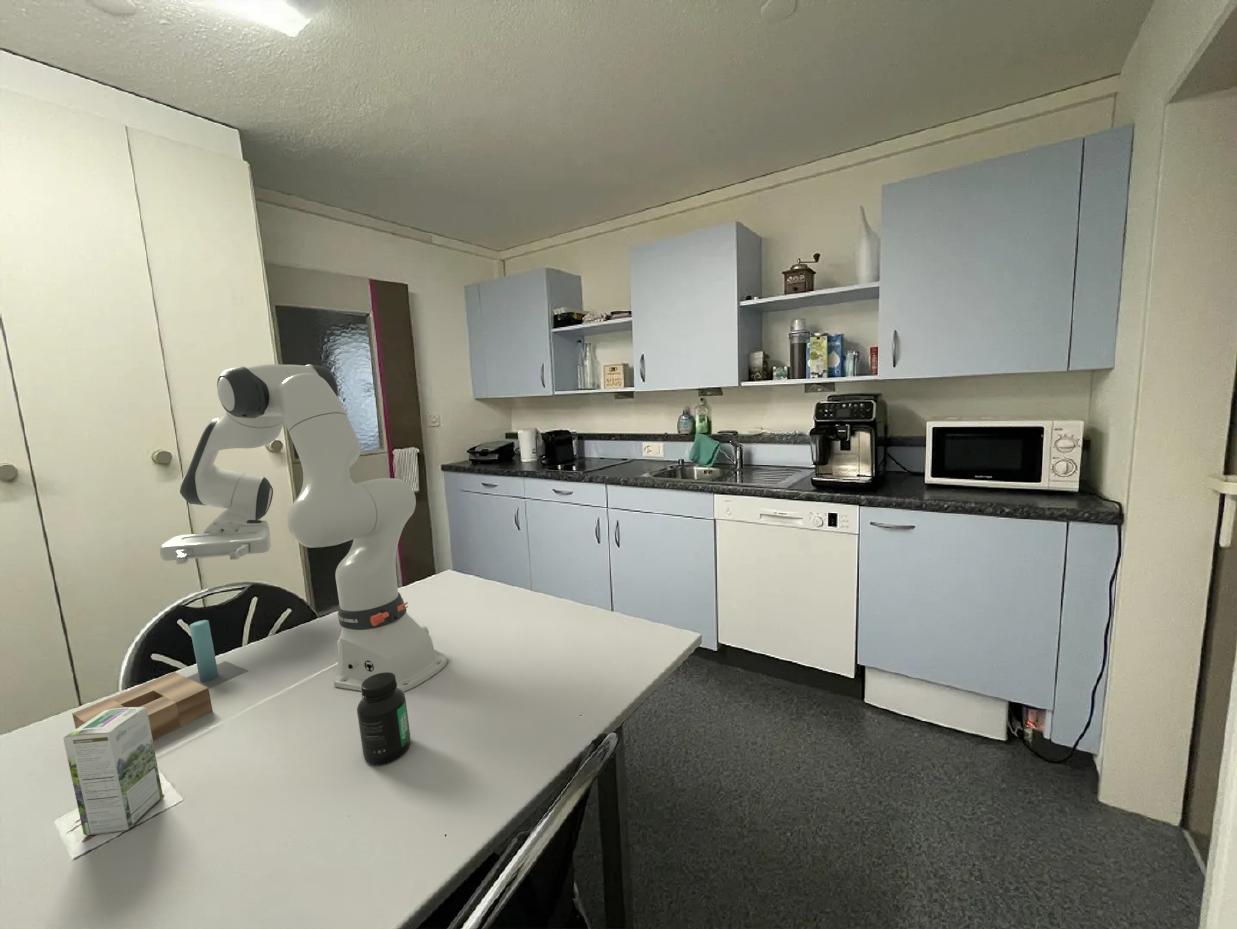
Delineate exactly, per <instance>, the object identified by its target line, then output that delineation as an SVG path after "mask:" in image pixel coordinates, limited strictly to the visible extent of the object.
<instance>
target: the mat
mask: <svg viewBox="0 0 1237 929" xmlns="http://www.w3.org/2000/svg"><path fill="white" fill-rule="evenodd" d="M216 664H217V670H218V676H217V677H216V678H214V679H212V680H210V681H206V682H201V681H200V678H199V673H198V672H196V673H193V674H192V675H189V676H186V677H187V678H189V679H191V680H193V681H195V682H197V683H199V684H201V685H203V686H205V687H208V689H212V688H215V687H216V686H218V685H221V684H222V683H225V682H227V681H229V680H231V679H234V678H236V677H238V676H240V675H243V674H244V673H247V672H248V671H250V670H248V669H246V668H244V667H241V666H238V665H236V664H233V663H231V662H229V661H226V660H224V661H222V662H220V663H216Z"/></svg>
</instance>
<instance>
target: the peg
mask: <svg viewBox="0 0 1237 929" xmlns="http://www.w3.org/2000/svg"><path fill="white" fill-rule="evenodd" d="M189 630H190V635H191V636H190V637H191V640H192V645H193V646H192V647H193V652H194V656H195V662H196V669H197V673H199V678H200V681H201V682H206V681H210V680H212V679H214V678H216V677H217V676H218V670H217V664H218V663H217V660H216V654H215V649H214V642H213V638H212V633H211V627H210V621H209V619H208V620H207V619H203V620H198V621H195V622H193V623H191V624H189Z"/></svg>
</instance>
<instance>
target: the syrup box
mask: <svg viewBox="0 0 1237 929" xmlns="http://www.w3.org/2000/svg"><path fill="white" fill-rule="evenodd" d="M63 742H64V743H63V744H64V747H65V752H66V758H67V763H68V767H69V771H70V777H71V782H72V786H73V790H74V795H75V800H76V804H77V808H78V814H79V818H80V824H81V829H82V834H83V835H85V836H91V835H98V834H101V835H102V834H108V833H113V832H114V833H115V832H122V831H129V830H130V829H131V828H132V827H133V826H134V825H136V824H137V823H138V822H139V820H141V819H142V818H143V817H144V816H145V815H146V814H147V813H148V812H149V811H150V810H151V809H152V808H153V807H154V806H156V804H157V803H158V802H160V801H161V800H162V798H163V794H164V793H163V789H162V783H161V779H160V773H159V767H158V761H157V756H156V752H155V751H156V750H155V747H154V746H155V745H154V740H153V739H152V734H151V728H150V723H149V718H148V712H147V708H145V707H125V708H115V709H110V710H105V711H103V712H101V713H100V714H99V715H97V716H95V717H94V718H92V719H91V720H89V721H88V722H86V723H85V724H83V725H82V726H80V727H79V728H77V729H76V728H75V729H74V730H73V731H71V732H70V733H68V734H67V735H65V736H64V737H63Z"/></svg>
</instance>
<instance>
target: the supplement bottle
mask: <svg viewBox="0 0 1237 929" xmlns="http://www.w3.org/2000/svg"><path fill="white" fill-rule="evenodd" d="M361 689H362V691H361V698H362V699H361V700H360V701H359V702H358V705H357V708H356V711H357V712H356V713H357V720H358V727H359V735H360V741H361V742H360V743H361V747H362V755H363V759H364V761H365V762H366V763H367V764H369V765H372V766H383V765H388V764H390V763H392V762H395V761H397V760H399V759H400V758H401V757H403V756H404V755H405V753H407V752H408V750H409V748H410V746H411V742H412V739H411V730H410V723H409V716H408V707H407V706H408V705H407V700H406V699H407V698H406V694H405V691H404V692H403V691H402V690H401V689H399V688H397V682H396V677H395V675H394V674H393V673H389V672H384V673H379V674H375V675H373V676H370V677H369V678H367V679H366V680H365V681H363V683H362V685H361Z"/></svg>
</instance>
